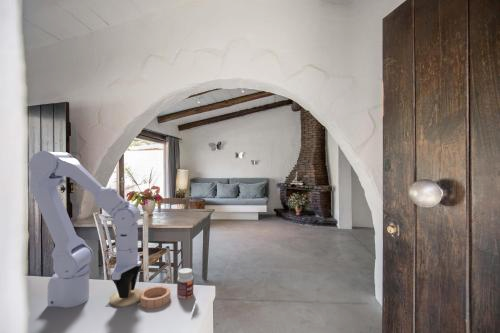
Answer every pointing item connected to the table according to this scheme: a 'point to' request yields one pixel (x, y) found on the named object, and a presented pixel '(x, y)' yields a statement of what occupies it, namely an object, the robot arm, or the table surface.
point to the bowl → (154, 302)
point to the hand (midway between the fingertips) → (127, 293)
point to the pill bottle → (185, 283)
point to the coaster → (129, 305)
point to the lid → (131, 299)
